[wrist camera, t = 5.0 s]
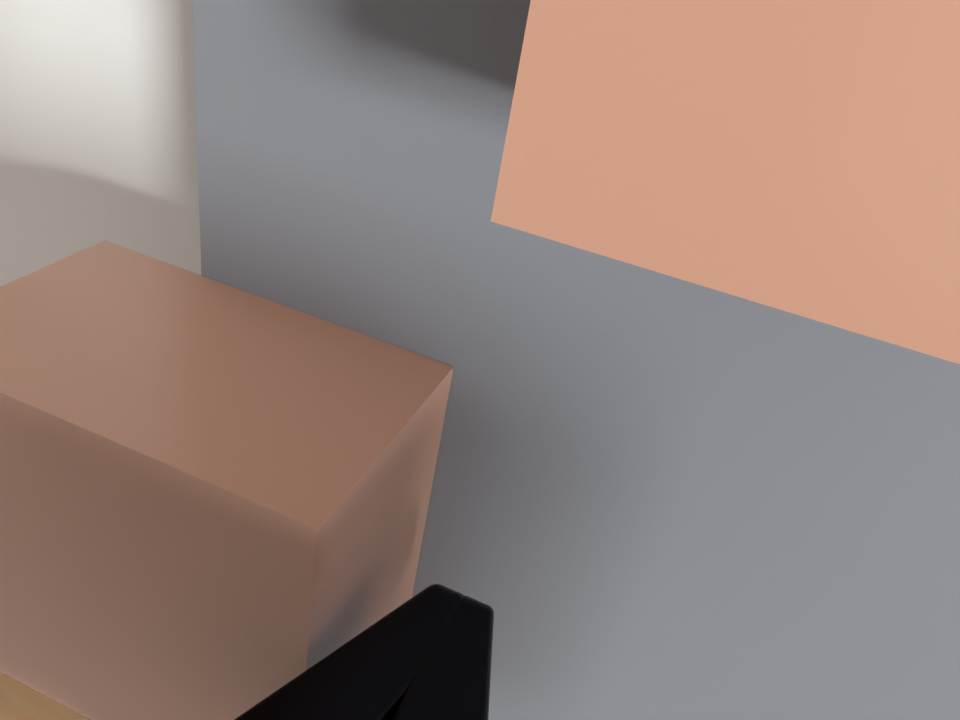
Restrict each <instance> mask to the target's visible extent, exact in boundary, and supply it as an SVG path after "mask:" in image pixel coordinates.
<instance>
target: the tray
mask: <svg viewBox="0 0 960 720" xmlns="http://www.w3.org/2000/svg"><path fill="white" fill-rule="evenodd" d="M104 240H106V241H108V242H111V243H114V244H117V245H119V246H122V247H125V248H128V249H130V250H133V251H136V252H139V253H141V254H144V255H147V256H150V257H152V258H155V259H158V260H161V261H163V262H166V263H169V264H171V265H174V266H177V267H180V268H182V269H185V270H188V271H191V272H193V273H196V274H199V275H201V246H200V214H199V182H198V150H197V118H196V87H195V55H194V23H193V0H0V286H2V285H4V284H7V283H9V282H11V281H14V280H16V279H18V278H20V277H23V276H25V275H27V274H29V273H32V272H34V271H36V270H38V269H41V268H43V267H45V266H47V265H50V264H52V263H54V262H56V261H59V260H61V259H63V258H66V257H68V256H70V255H72V254H75V253H77V252H79V251H81V250H84V249H86V248H88V247H90V246H93V245H95V244H97V243H99V242H102V241H104Z"/></svg>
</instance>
